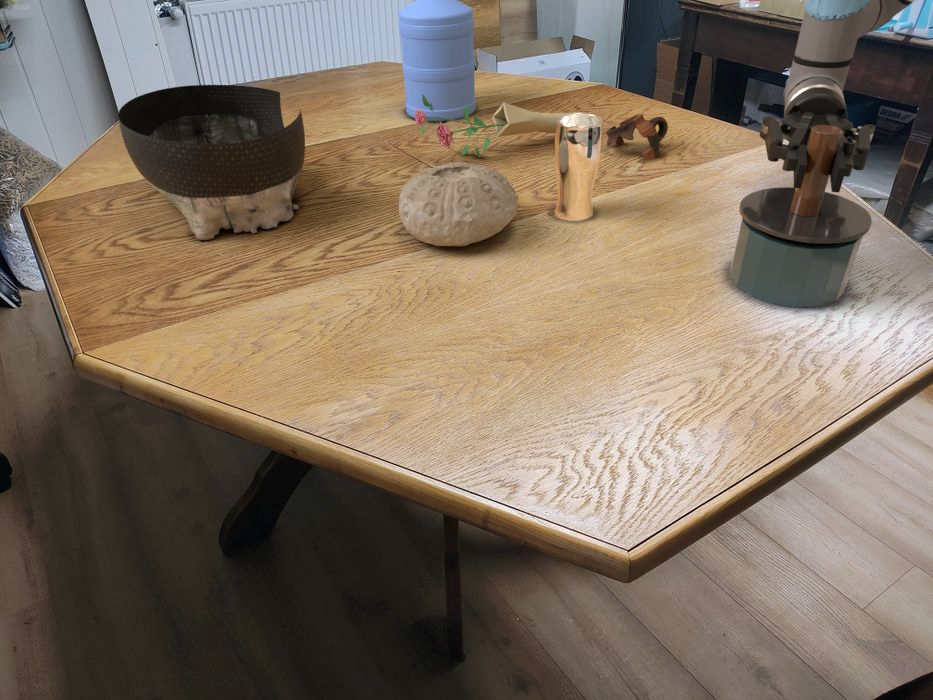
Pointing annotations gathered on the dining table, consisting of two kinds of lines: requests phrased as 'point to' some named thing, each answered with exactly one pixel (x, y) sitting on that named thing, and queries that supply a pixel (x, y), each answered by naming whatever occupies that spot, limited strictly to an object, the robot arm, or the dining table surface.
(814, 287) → the pot
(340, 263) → the dining table surface
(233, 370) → the dining table surface
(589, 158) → the beer glass
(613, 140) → the twisted brown loop sculpture
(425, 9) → the water jug
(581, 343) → the dining table surface
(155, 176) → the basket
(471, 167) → the decorative shell
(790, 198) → the lid
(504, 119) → the flower vase
